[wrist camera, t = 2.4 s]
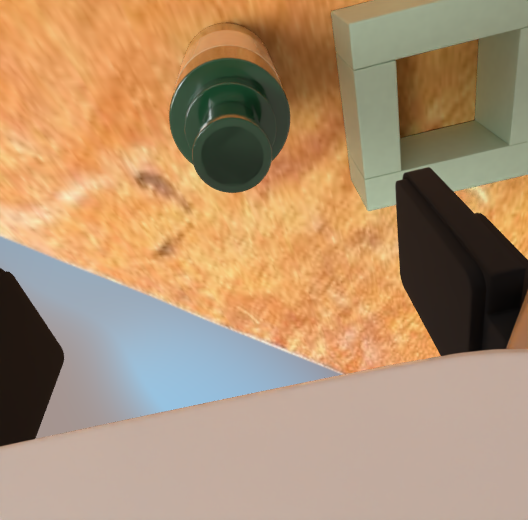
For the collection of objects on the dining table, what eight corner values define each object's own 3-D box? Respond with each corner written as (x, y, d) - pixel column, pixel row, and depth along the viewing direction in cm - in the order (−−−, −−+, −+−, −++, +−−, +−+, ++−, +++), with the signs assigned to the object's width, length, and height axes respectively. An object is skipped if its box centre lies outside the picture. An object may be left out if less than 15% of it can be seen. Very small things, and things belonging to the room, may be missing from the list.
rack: (330, 10, 26) (348, 23, 22) (681, -80, 25) (762, -83, 21) (350, 179, 32) (367, 211, 28) (632, 113, 31) (688, 138, 27)
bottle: (227, -1, 25) (232, 46, 15) (290, 73, 28) (332, 158, 17) (163, 70, 27) (127, 156, 16) (227, 133, 29) (231, 243, 19)
